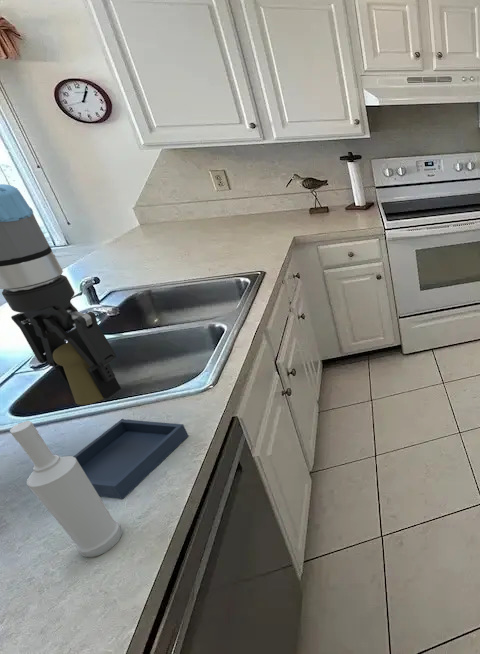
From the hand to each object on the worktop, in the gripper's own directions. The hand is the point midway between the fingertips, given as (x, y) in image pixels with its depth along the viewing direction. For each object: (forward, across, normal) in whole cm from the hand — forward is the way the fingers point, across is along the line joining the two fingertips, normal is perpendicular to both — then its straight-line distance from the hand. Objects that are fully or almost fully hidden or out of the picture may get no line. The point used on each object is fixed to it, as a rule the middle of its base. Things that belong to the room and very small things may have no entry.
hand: (96, 392), depth 77 cm
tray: (+15, -2, +3) cm, 15 cm away
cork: (0, 0, 0) cm, 0 cm away
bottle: (+15, -14, +18) cm, 27 cm away
